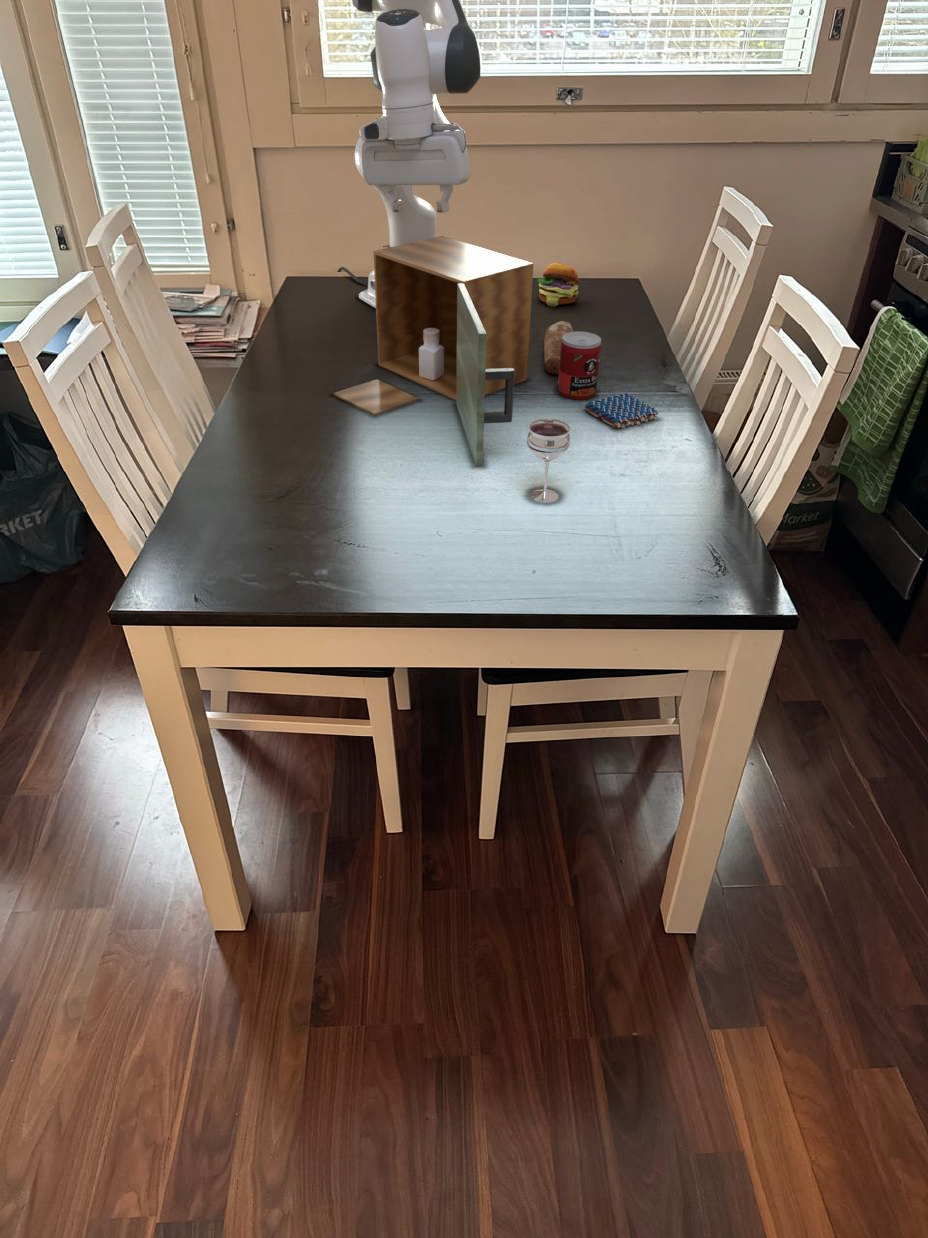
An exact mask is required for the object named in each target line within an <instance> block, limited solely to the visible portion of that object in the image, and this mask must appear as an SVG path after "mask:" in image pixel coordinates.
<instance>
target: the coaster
mask: <svg viewBox="0 0 928 1238" xmlns="http://www.w3.org/2000/svg"><path fill="white" fill-rule="evenodd" d="M333 396H334V397H336V398H338V399H340V400H342V401H343V402H346V403H348V404H350V405H352V406H354V407H356V408H358V409H360V410H362V411H364V412H366V413H368V414H369V415H372V416H374V417H375V416H378V415H381V414H383V413H387V412H390V411H393V410H395V409H398V408H402V407H404V406H407V405H410V404H412V403H415V402H418V401H420V399H419V398H420V397H417V396H414V395H412V394H410V393H408V392H405V391H404V390H401V389H399V388H397V387H395V386H393V385H391V384H388V383H387V382H384V381H382V380H380V379H378V378H376V379H373V380H370V381H366V382H364V383H360V384H357V385H354V386H350V387H348V388H345V389H342V390H339V391H336V392H333Z"/></svg>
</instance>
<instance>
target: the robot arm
mask: <svg viewBox="0 0 928 1238" xmlns="http://www.w3.org/2000/svg"><path fill="white" fill-rule="evenodd" d="M351 2H352V5H353V6H354V8H356V10H357V11H358V12H359V11H360V12H363V13H367V14H373V12H374V13H380V14H379V15H378V16H377V17H376V19H375V21H374V22H375V25H374V42H375V43H374V44H375V45H374V47H373V49H372V50H371V52H370V54H369V55H370V61H371V69H372V75H373V76H372V77H373V86H374V87H375V88H376V89H377V90H379V91H380V92H381V93H382V100H381V110H382V116H379V117H377V118H376V119H374V120H372V121H370V122H368V123H366V124H364V125H362V126H360V128H359V136H360V137H359V138H358V140H357V142H356V144H355V148H354V155H353V156H354V164H355V167H356V169H357V171H358V173H359V175H360V177H362V178H363V180H364V181H365V182H366V184H367V185H368V186H372V187H373V188H374V189H375V190H376V191H377V193H378V194H379V196H380V198H381V199H382V202H383V204H384V206H385V207H384V208H385V210H386V214H387V223H388V235H389V237H388V238H389V244H386V245H382V248H389V247H394V246H398V245H403V244H407V243H412V242H416V241H421V240H425V239H430V238H434V237H437V214H436V211H437V213H440V214H441V213H442V214H445V213H448V212H449V211H450V203H449V200H450V198H451V195H452V193H453V190H454V186H459V185H460V186H461V185H463V184H465V183H467V182H468V181H469V179H470V177H471V174H472V173H471V166H470V165H471V163H470V158H469V154H468V150H467V149H468V148H467V136H466V132H465V130H464V128H462V127H461V126H459V125H458V123H456V122H449V121H448V119H447V118H446V116H445V115H444V113H443V111H442V109H441V107H440V104H439V102H438V99H437V95H442V94H445V95H446V94H450V95H451V94H453V95H454V94H455V95H456V94H457V95H459V94H460V95H461V94H468V93H469V92H470V91H471V90H472V89H473V88H474V87H475V86H476V84H477V83H478V82H479V80H480V79H481V73H482V66H483V65H482V63H483V61H482V52H481V48H480V47H481V46H480V44H479V42H478V40H477V36H476V34H475V32H474V31H473V29H472V28H471V26H470V24H469V22H468V19H467V16H466V15H465V11H464V10H463V6H462V3H461V1H460V0H351ZM430 25H434V26H438V27H440V28H432V29H431V26H430ZM413 186H439V190H440V192H441V193H442V194H441V198H440V200H439V201H436V202H435V204H436V205H435V206H436V210H435V207H433V205H432V204H431V203H430V202H428V201H426V200H425V199H424V198H422V197H419V196H417V195H414V192H413ZM342 271H344V272H345V273H347V274H348V275H349V276H350V277H351V278H352V279H353V280H354V281H355V282H357V283H359V284H360V285H362V286H365V287H367V288H366V289H365V290H363V291H361V292H360V293H358V298H359V300H361V301H363V302H364V303H366V304H368V305H369V306H371V307H373V308H374V309H376V297H375V274H374V269H371V270H370V273H368V279H367V283H366V282H364V281H362V280H361V279H359V278H357V276H356V275H355V274H353V273H352V271H350V270H349V269H348V268H346V267H344V266H341V267H339V268H338V270H337V272H338V273H340V272H342Z"/></svg>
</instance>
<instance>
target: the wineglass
mask: <svg viewBox="0 0 928 1238" xmlns="http://www.w3.org/2000/svg"><path fill="white" fill-rule="evenodd" d="M527 428H528V433H527V437H526V444H527V446H528V449H529V451H530V452H531V454H532V455H534V456H535V457H536V458H538V459H540V460H542V461H543V462H544V467H543V468H544V470H543V471H544V473H543V488H540V489H539V488H538V489H535V490H532V491H531V493H530V498H531V499H533V500H534V501H536V502H539V503H544V504H545V503H547V504H548V503H552V502H556V501H557V500H558V499H559V494H558V492H556V491H554V490H552V489H548V488H547V486H548V478H549V472H550V471H549V470H550V462H552V461H554V460H557V459H559V458H561V457H562V456H563V455H565V454H566V453H567V451H568V450H569V448H570V445H571V435H570V433H571V431H572V427H571V425H570V424H569V423H567V422H566V421H563V420H560V419H555V418H539V419H536V420H533V421H531V422H530V423H529V424H528V426H527Z"/></svg>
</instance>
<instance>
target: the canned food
mask: <svg viewBox="0 0 928 1238" xmlns="http://www.w3.org/2000/svg"><path fill="white" fill-rule="evenodd" d="M601 350H602V337H600V336H599V335H597V334H595V333H592V332H589V331H580V330H579V331H577V330H575V331H574V332H569V333H566V334H564V335H563V336H562V341H561V353H560V366H559V374H558V379H557V381H558V383H557V389H558V393H559V394H560V395H561V396H563V397H564V398H567V399H571V400H576V401H577V400H580V401H581V400H582V401H583V400H587V399H591V398H593V397H594V396H595V394H596V392H597V388H598V378H599V368H600V362H601V361H600V360H601Z"/></svg>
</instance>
